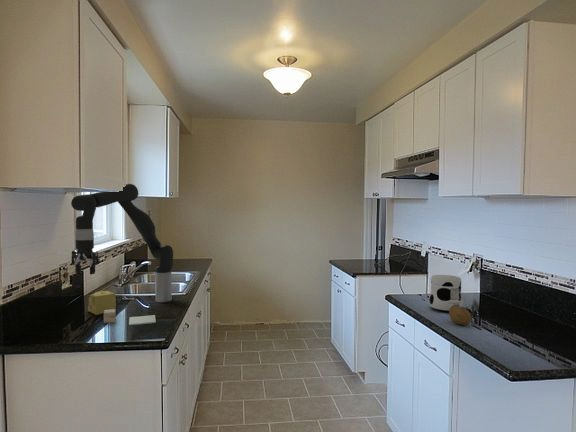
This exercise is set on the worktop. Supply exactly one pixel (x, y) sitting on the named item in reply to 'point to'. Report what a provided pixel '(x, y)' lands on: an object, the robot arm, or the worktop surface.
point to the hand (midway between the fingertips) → (85, 273)
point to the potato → (460, 315)
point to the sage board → (142, 320)
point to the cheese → (101, 302)
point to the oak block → (109, 316)
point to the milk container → (445, 292)
